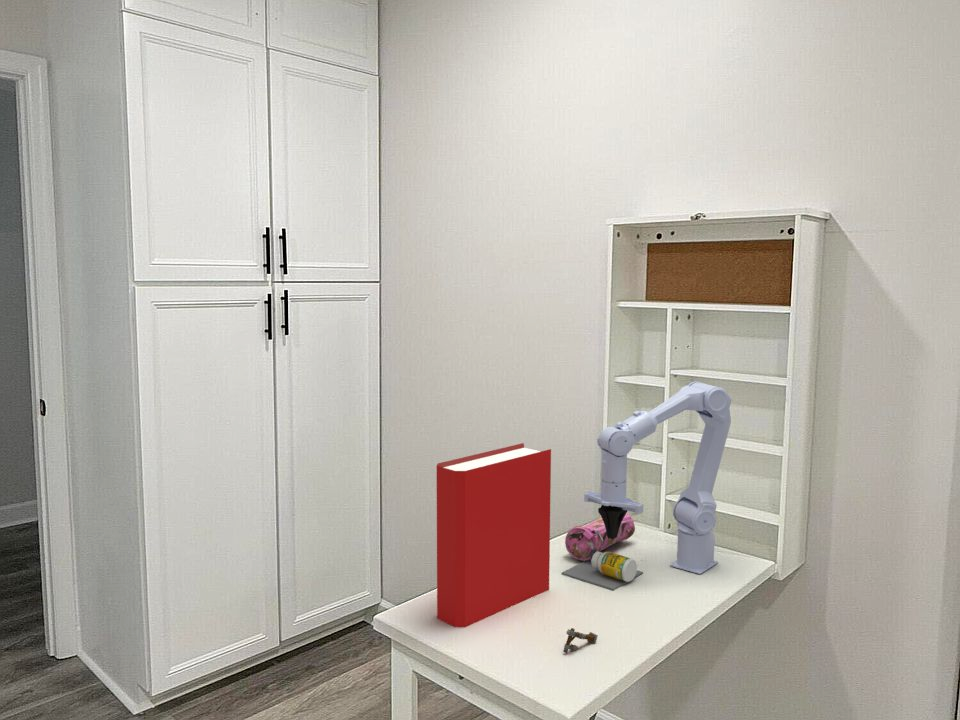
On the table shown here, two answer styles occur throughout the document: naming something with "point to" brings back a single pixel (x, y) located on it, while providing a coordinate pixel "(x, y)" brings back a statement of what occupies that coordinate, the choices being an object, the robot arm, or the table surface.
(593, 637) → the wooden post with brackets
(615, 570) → the supplement bottle
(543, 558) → the book
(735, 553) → the table surface
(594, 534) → the pencil case
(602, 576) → the slate mat
